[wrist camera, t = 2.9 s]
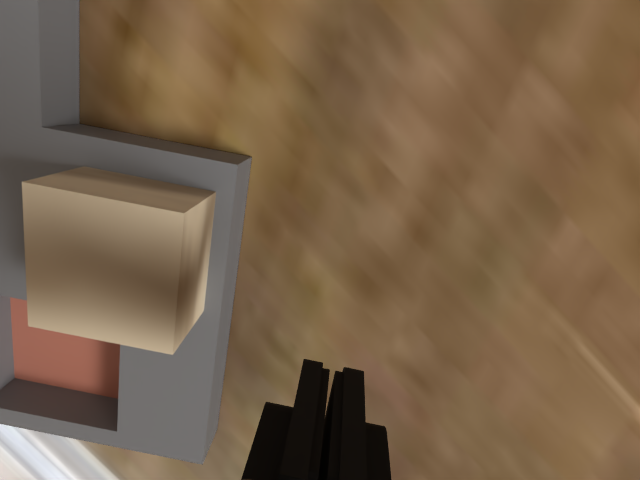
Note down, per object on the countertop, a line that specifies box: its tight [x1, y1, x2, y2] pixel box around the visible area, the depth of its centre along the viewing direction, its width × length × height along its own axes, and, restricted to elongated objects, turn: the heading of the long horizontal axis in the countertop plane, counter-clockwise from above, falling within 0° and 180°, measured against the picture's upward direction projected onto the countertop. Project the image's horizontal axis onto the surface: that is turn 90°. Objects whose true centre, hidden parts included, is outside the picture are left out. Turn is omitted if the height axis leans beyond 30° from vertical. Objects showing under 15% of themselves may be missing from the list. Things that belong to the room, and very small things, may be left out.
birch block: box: [22, 166, 216, 355], centre depth 17 cm, size 6×6×4 cm
